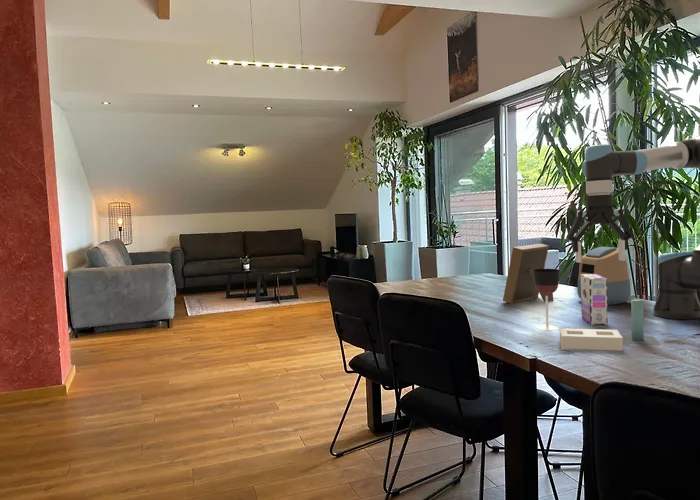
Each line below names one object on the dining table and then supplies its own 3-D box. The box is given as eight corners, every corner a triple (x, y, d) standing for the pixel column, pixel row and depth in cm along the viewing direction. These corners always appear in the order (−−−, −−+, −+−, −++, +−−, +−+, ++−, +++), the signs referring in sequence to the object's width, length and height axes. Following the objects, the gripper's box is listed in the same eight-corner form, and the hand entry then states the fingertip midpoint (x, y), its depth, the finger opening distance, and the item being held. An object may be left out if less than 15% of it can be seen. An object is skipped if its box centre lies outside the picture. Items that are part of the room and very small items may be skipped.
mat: (652, 337, 160) (652, 336, 160) (660, 345, 151) (660, 344, 151) (616, 336, 164) (616, 335, 164) (622, 344, 154) (622, 343, 154)
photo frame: (502, 302, 231) (501, 246, 229) (529, 296, 245) (529, 243, 243) (533, 306, 219) (532, 247, 218) (559, 299, 233) (559, 243, 231)
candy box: (608, 325, 179) (607, 278, 178) (590, 325, 180) (589, 278, 179) (597, 317, 193) (597, 273, 192) (580, 317, 194) (579, 273, 193)
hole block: (617, 342, 156) (617, 329, 156) (622, 351, 147) (622, 337, 147) (559, 341, 162) (559, 328, 161) (561, 349, 152) (561, 336, 152)
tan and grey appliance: (573, 300, 228) (572, 247, 227) (608, 297, 231) (607, 245, 230) (598, 306, 212) (597, 250, 210) (635, 303, 215) (634, 247, 213)
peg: (642, 338, 158) (642, 299, 157) (644, 341, 155) (644, 301, 154) (630, 338, 159) (630, 299, 158) (632, 341, 156) (632, 301, 155)
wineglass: (538, 324, 186) (537, 268, 185) (564, 326, 181) (562, 269, 179) (530, 328, 180) (529, 271, 179) (556, 331, 175) (555, 271, 173)
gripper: (633, 193, 168) (634, 258, 170) (554, 196, 169) (556, 261, 171) (645, 192, 161) (646, 260, 162) (563, 196, 162) (564, 264, 163)
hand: (600, 261), depth 166 cm, fingers open, 13 cm apart
